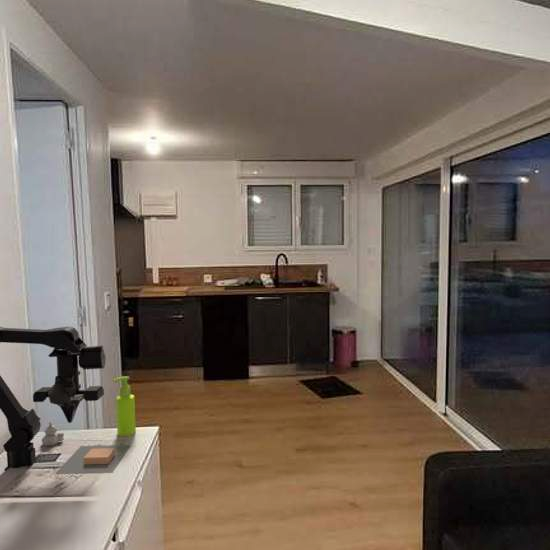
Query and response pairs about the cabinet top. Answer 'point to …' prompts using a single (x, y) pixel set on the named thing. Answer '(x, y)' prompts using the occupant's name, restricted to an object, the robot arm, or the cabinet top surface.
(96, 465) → the slate board
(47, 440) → the grey lumpy pointed piece
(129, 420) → the soap dispenser
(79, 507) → the cabinet top surface
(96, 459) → the tile
